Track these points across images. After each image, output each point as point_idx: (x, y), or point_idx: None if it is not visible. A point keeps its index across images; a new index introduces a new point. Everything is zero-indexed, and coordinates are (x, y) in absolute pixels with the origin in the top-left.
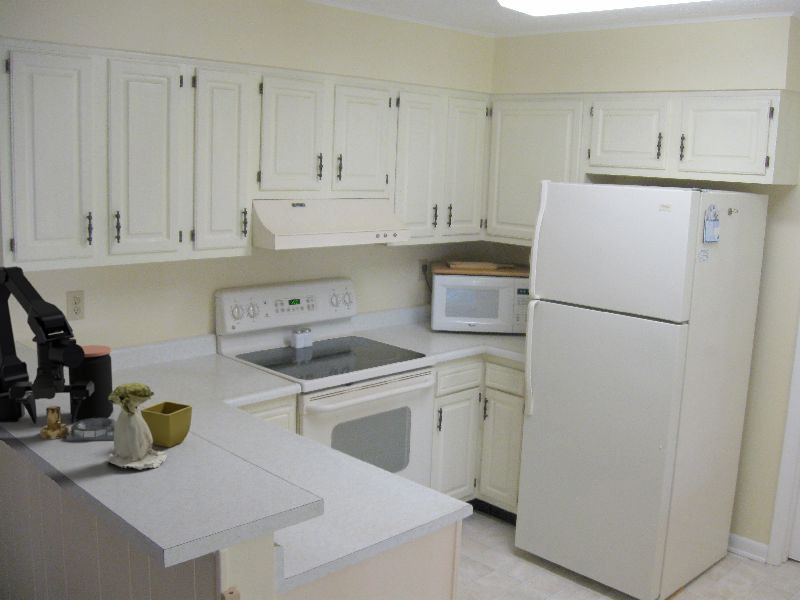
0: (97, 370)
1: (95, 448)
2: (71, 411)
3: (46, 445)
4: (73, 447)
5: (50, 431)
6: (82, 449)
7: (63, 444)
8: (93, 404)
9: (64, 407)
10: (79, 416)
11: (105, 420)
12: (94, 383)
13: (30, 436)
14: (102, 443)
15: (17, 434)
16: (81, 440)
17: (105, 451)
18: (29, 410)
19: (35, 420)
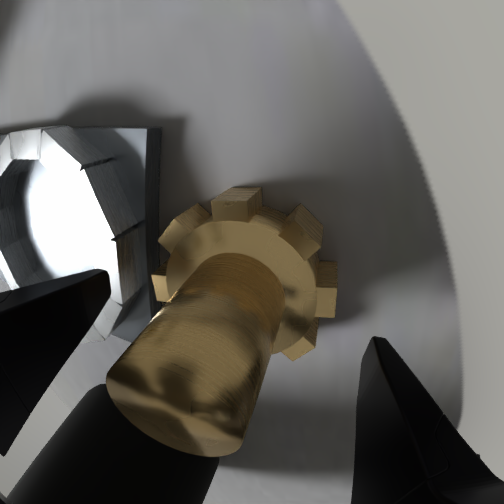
0: None
1: (45, 29)
2: (33, 299)
3: (273, 63)
4: (116, 26)
5: (253, 223)
6: (82, 8)
7: (169, 71)
8: (85, 426)
9: (263, 495)
10: None
11: None
12: (32, 489)
13: (397, 287)
14: (29, 92)
15: (453, 336)
16: (91, 127)
17: (25, 9)
18: (434, 428)
19: (370, 361)
